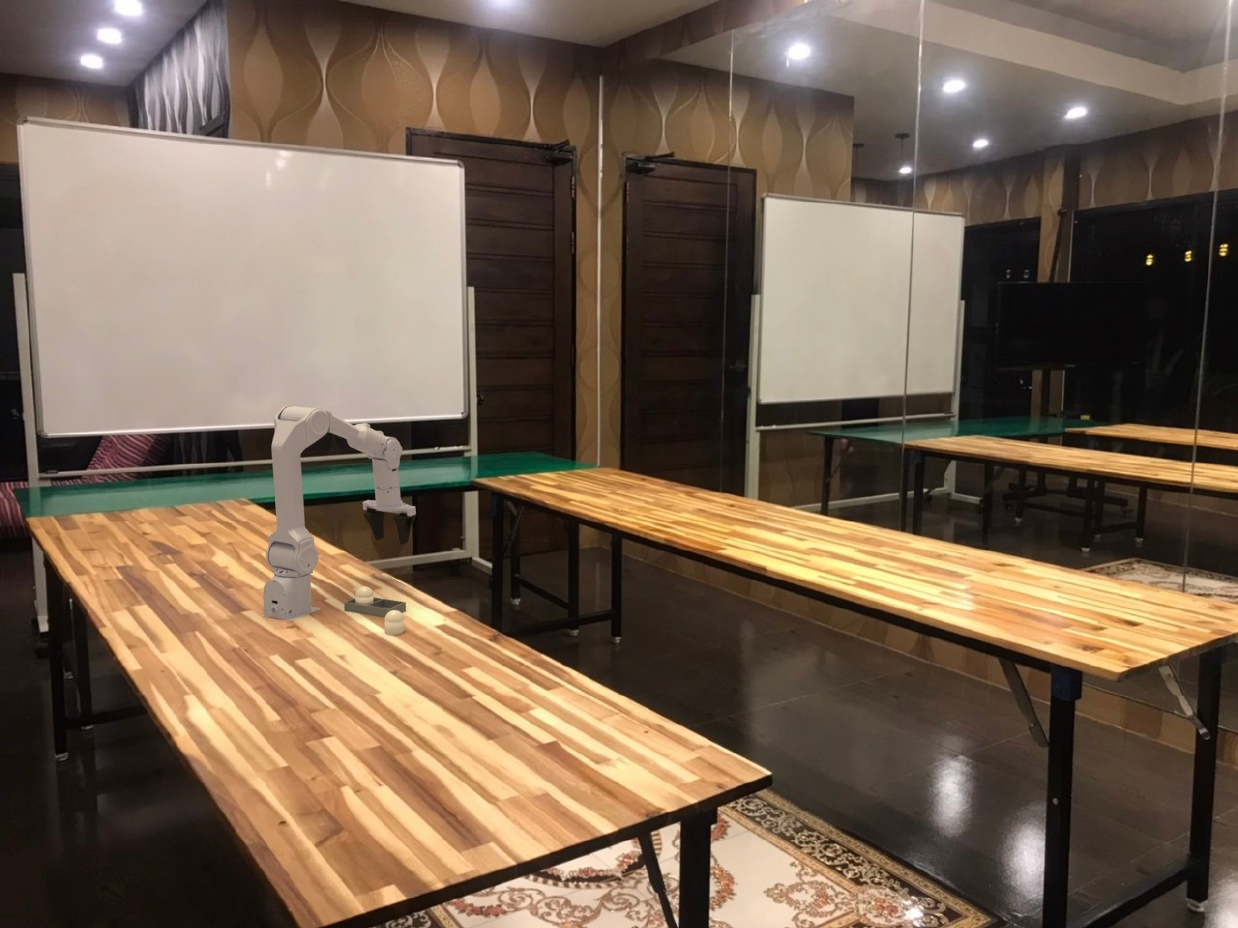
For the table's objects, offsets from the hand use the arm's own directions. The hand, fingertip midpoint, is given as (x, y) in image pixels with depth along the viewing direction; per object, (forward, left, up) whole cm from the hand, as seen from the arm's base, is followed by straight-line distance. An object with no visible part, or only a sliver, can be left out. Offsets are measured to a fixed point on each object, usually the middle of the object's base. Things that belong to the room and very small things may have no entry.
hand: (391, 541), depth 223 cm
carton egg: (-22, -8, -10) cm, 25 cm away
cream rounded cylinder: (-32, -23, -10) cm, 41 cm away
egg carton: (-22, -11, -10) cm, 27 cm away
